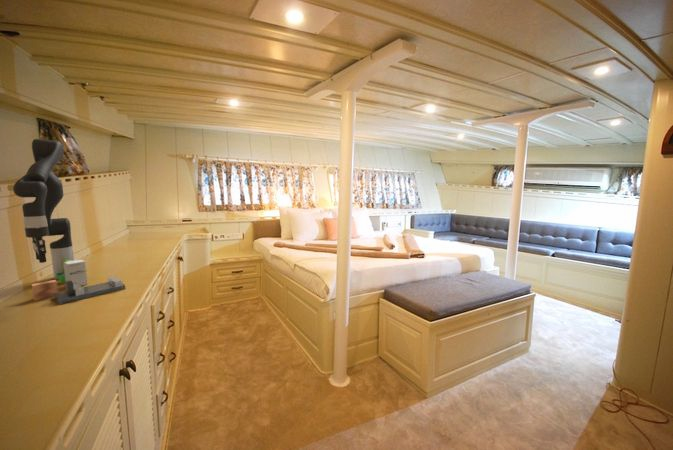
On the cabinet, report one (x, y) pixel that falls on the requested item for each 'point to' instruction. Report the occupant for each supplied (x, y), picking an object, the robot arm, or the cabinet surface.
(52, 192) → the robot arm
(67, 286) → the sliding jaw
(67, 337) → the cabinet surface
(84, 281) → the supplement box
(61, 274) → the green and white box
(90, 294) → the vise
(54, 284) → the block
